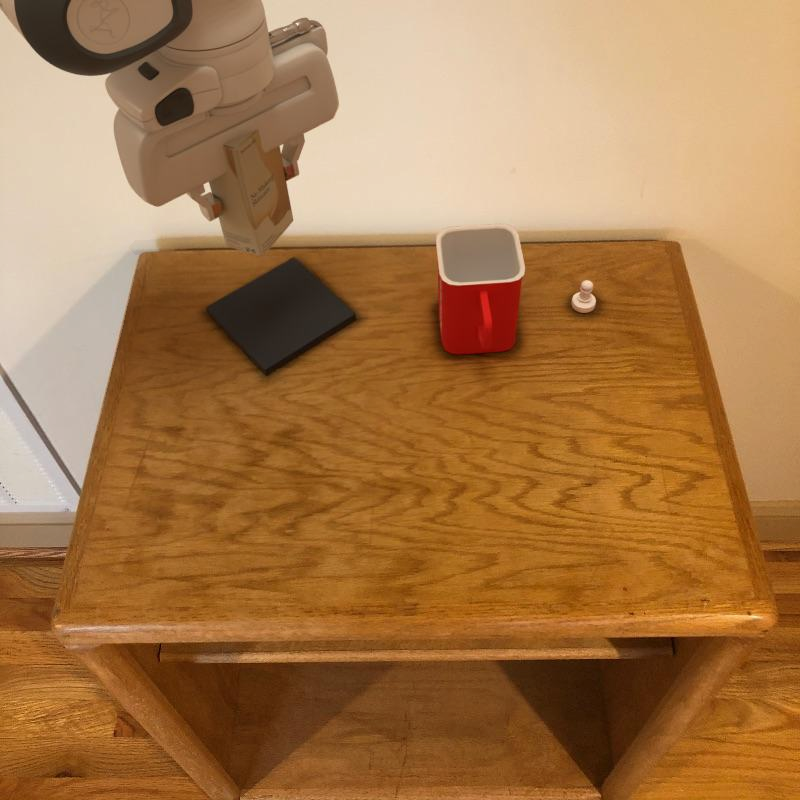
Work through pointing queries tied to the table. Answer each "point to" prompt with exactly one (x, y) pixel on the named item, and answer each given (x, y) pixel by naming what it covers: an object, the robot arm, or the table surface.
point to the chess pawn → (584, 298)
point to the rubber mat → (280, 315)
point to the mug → (479, 287)
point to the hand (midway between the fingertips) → (251, 195)
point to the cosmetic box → (252, 195)
